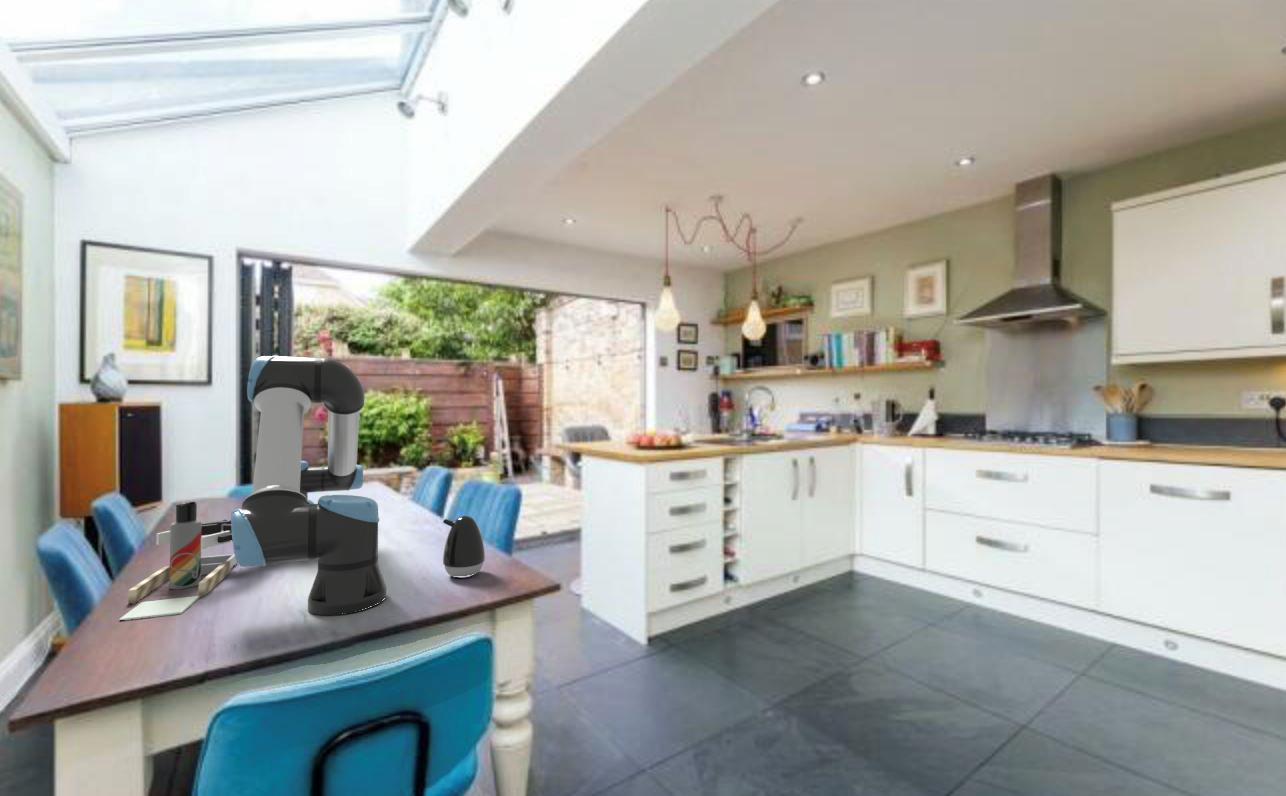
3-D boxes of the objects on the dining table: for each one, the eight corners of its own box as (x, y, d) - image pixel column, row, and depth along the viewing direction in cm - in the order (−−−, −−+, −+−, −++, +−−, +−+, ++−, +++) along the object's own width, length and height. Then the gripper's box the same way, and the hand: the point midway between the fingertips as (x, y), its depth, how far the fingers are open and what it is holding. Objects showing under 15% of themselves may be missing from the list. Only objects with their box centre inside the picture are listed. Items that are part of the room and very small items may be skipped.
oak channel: (205, 595, 121) (205, 582, 121) (128, 604, 116) (128, 590, 116) (230, 572, 138) (230, 560, 138) (163, 578, 133) (164, 566, 133)
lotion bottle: (186, 589, 125) (187, 504, 125) (162, 589, 125) (163, 503, 125) (206, 581, 131) (208, 499, 131) (183, 581, 131) (185, 499, 131)
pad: (181, 613, 111) (181, 611, 111) (118, 621, 107) (118, 619, 107) (199, 597, 120) (199, 595, 120) (142, 603, 116) (142, 602, 116)
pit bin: (226, 572, 138) (226, 562, 138) (167, 578, 133) (167, 568, 133) (237, 563, 146) (237, 553, 146) (182, 568, 141) (182, 558, 141)
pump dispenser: (448, 569, 141) (448, 511, 141) (488, 568, 142) (488, 511, 142) (436, 582, 131) (437, 520, 131) (480, 581, 132) (480, 519, 132)
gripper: (299, 538, 145) (221, 560, 124) (225, 532, 150) (139, 553, 130) (299, 510, 145) (221, 528, 124) (225, 506, 150) (139, 522, 130)
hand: (179, 541), depth 127 cm, fingers open, 13 cm apart
